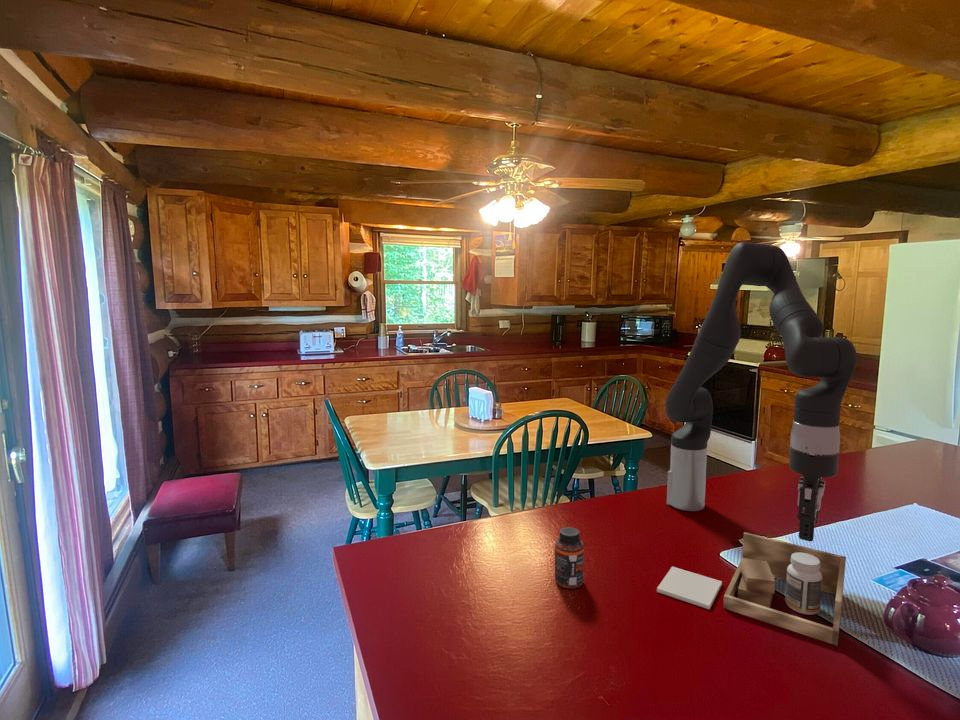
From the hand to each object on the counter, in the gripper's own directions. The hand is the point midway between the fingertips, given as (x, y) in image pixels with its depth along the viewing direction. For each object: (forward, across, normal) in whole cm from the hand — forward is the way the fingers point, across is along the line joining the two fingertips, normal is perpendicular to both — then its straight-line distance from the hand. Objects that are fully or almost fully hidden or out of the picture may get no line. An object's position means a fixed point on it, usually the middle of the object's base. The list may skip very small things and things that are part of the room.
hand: (808, 530), depth 97 cm
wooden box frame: (+15, 0, -3) cm, 16 cm away
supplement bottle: (+16, +18, -40) cm, 47 cm away
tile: (+15, +6, -19) cm, 25 cm away
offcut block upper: (+13, 0, -8) cm, 15 cm away
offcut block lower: (+16, 0, -8) cm, 18 cm away
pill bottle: (+16, 0, 0) cm, 16 cm away
